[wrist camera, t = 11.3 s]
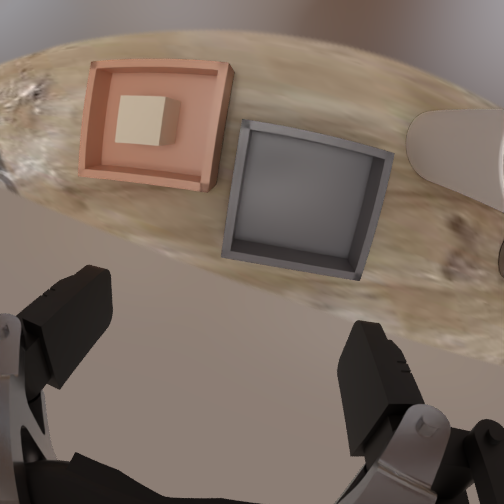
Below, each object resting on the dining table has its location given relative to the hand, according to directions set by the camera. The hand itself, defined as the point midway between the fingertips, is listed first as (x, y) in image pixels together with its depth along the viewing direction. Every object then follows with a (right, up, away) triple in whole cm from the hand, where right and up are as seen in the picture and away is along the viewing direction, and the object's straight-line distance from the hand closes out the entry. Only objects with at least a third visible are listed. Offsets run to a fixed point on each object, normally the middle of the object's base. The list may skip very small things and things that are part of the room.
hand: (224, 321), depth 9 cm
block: (-9, +15, +19) cm, 26 cm away
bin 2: (+6, +8, +22) cm, 24 cm away
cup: (+21, +14, +19) cm, 32 cm away
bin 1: (-9, +16, +20) cm, 27 cm away
